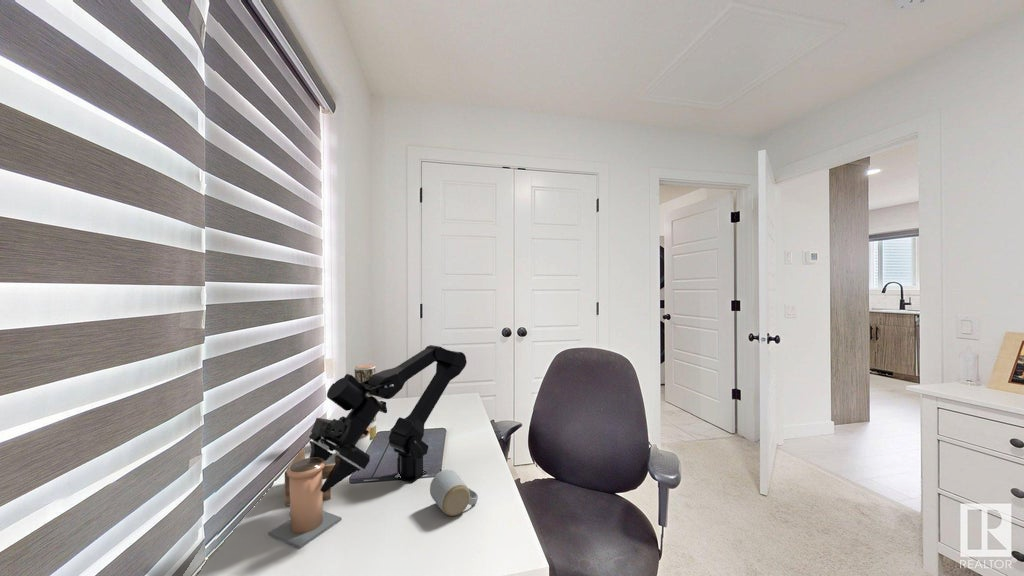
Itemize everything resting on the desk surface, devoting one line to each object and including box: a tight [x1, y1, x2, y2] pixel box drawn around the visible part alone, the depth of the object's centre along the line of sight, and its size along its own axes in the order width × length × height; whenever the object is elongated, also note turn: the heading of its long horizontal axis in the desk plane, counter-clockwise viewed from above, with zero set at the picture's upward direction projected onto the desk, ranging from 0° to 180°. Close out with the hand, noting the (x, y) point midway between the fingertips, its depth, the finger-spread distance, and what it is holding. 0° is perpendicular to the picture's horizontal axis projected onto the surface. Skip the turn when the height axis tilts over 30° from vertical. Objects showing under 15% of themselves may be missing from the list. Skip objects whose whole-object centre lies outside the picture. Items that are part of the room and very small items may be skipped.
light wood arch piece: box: [284, 448, 335, 506], centre depth 96 cm, size 10×13×8 cm
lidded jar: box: [334, 427, 371, 458], centre depth 114 cm, size 11×11×9 cm
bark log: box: [354, 363, 377, 440], centre depth 128 cm, size 7×7×25 cm
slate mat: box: [267, 510, 342, 550], centre depth 80 cm, size 10×10×1 cm
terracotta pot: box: [286, 457, 326, 534], centre depth 80 cm, size 7×7×13 cm
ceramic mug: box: [429, 468, 479, 517], centre depth 87 cm, size 11×8×8 cm
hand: (312, 484), depth 81 cm, fingers open, 9 cm apart
